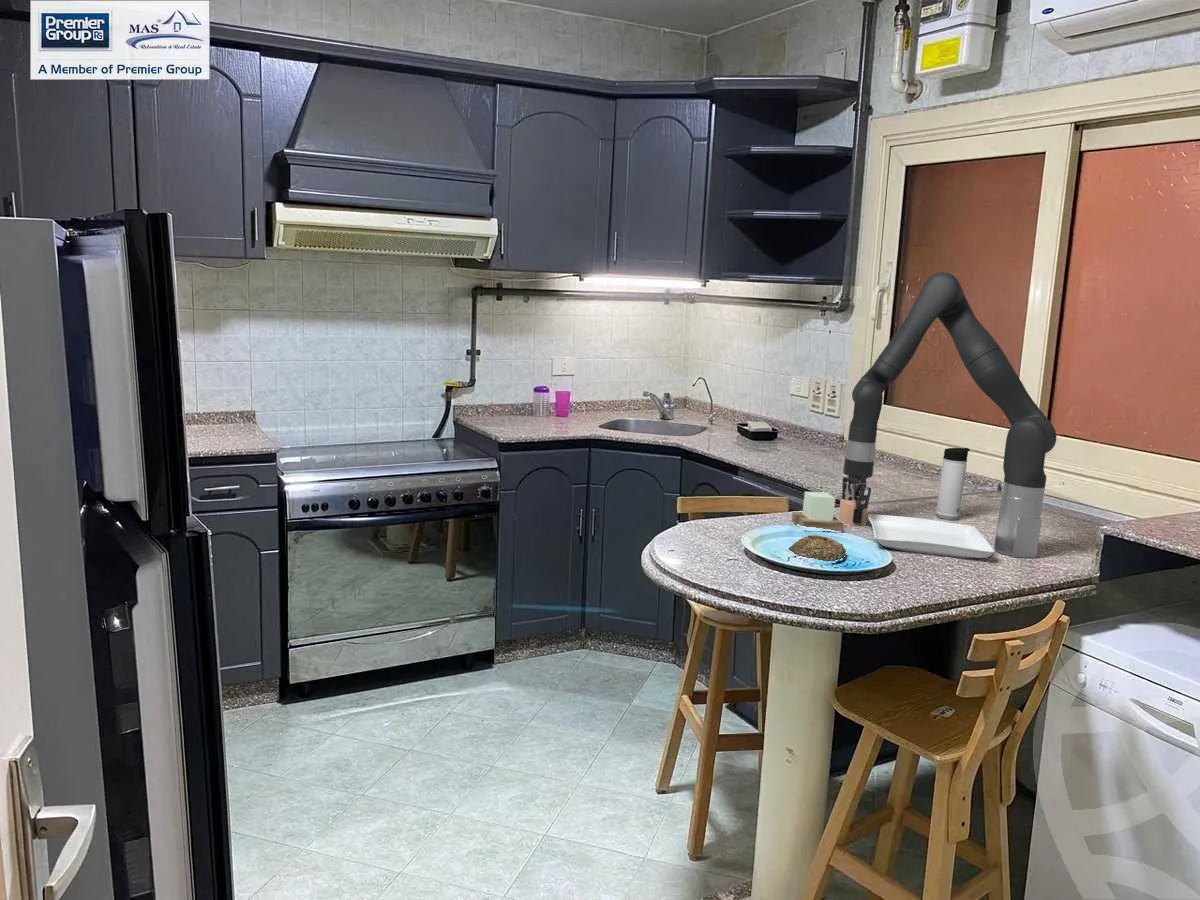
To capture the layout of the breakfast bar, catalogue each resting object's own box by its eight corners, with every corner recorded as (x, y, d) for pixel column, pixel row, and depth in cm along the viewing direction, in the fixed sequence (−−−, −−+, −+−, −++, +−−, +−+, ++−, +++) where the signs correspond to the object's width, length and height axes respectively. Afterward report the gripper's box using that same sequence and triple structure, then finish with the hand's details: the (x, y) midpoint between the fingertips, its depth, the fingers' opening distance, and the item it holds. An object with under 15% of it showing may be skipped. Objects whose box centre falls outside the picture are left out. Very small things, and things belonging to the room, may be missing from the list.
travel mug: (963, 521, 260) (973, 450, 256) (939, 519, 260) (949, 448, 256) (955, 515, 266) (965, 446, 262) (932, 514, 266) (941, 444, 263)
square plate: (994, 566, 217) (997, 550, 217) (873, 552, 223) (875, 536, 222) (973, 537, 244) (975, 523, 243) (865, 525, 249) (866, 511, 248)
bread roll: (851, 556, 217) (853, 535, 216) (835, 568, 207) (838, 546, 206) (798, 545, 223) (800, 525, 223) (780, 556, 213) (782, 535, 212)
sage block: (832, 520, 239) (835, 497, 238) (810, 519, 238) (812, 496, 237) (824, 514, 245) (827, 492, 244) (802, 514, 244) (804, 491, 243)
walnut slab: (842, 532, 237) (843, 523, 237) (804, 531, 236) (805, 521, 236) (828, 522, 247) (829, 513, 247) (791, 521, 246) (792, 511, 246)
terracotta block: (865, 525, 247) (868, 505, 246) (845, 525, 246) (848, 504, 245) (857, 520, 252) (860, 500, 251) (838, 519, 251) (840, 499, 250)
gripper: (884, 463, 240) (876, 527, 242) (862, 453, 254) (855, 514, 256) (856, 462, 239) (848, 526, 242) (836, 452, 253) (829, 513, 256)
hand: (852, 519), depth 249 cm, fingers closed on terracotta block, 5 cm apart
